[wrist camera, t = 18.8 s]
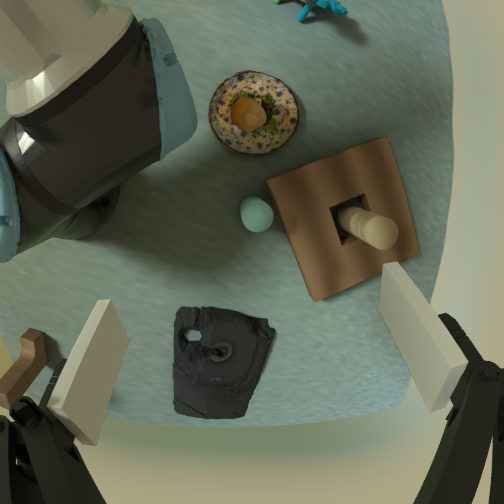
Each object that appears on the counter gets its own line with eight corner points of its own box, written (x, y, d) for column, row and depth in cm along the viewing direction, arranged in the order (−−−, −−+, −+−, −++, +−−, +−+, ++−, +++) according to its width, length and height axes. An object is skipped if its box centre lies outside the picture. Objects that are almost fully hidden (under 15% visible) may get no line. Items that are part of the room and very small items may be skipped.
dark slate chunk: (162, 404, 51) (158, 421, 46) (179, 296, 46) (174, 309, 41) (245, 418, 53) (247, 436, 48) (279, 316, 48) (285, 331, 43)
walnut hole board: (309, 294, 47) (314, 302, 44) (264, 180, 42) (267, 181, 39) (409, 247, 46) (419, 252, 43) (377, 137, 42) (387, 136, 39)
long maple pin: (339, 232, 45) (375, 255, 33) (331, 209, 44) (366, 225, 32) (360, 223, 45) (401, 242, 33) (353, 200, 44) (393, 213, 32)
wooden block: (48, 362, 46) (11, 411, 32) (34, 357, 46) (-4, 404, 32) (43, 331, 45) (0, 378, 30) (29, 327, 44) (-15, 372, 30)
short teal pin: (245, 226, 43) (249, 237, 37) (235, 202, 42) (236, 208, 36) (269, 216, 43) (278, 224, 37) (259, 191, 42) (266, 196, 36)
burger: (308, 139, 41) (325, 134, 34) (228, 170, 42) (229, 170, 34) (275, 63, 38) (285, 44, 31) (195, 91, 38) (189, 76, 31)
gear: (355, 8, 35) (342, 9, 29) (336, 34, 39) (319, 42, 33) (294, -27, 34) (269, -31, 28) (278, 0, 38) (250, 2, 33)
